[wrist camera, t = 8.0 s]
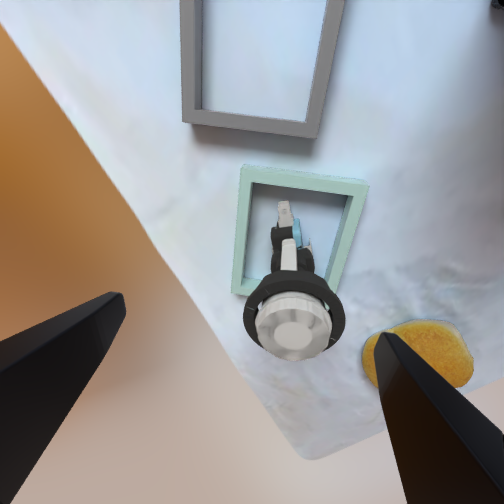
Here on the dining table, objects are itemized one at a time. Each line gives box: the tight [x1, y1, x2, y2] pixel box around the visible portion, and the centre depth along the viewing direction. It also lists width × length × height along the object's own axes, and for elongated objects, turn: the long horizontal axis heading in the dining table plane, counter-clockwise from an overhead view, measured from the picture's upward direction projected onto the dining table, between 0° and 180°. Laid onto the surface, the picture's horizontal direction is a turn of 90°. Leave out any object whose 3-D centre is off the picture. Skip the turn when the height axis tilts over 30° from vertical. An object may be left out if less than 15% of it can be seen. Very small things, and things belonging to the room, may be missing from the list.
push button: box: [243, 200, 345, 361], centre depth 17 cm, size 7×5×10 cm
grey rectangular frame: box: [180, 0, 345, 139], centre depth 15 cm, size 9×11×2 cm
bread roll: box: [362, 319, 474, 388], centre depth 24 cm, size 8×9×4 cm
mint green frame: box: [231, 164, 369, 309], centre depth 21 cm, size 9×11×2 cm
